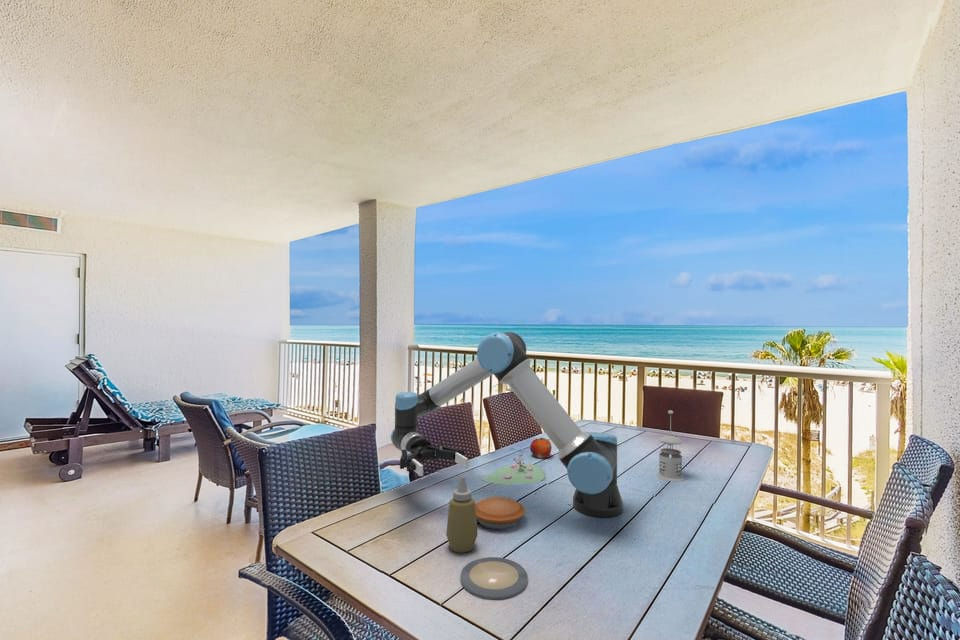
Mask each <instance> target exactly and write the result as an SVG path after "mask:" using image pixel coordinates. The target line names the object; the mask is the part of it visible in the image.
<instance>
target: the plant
mask: <svg viewBox="0 0 960 640" xmlns="http://www.w3.org/2000/svg"><path fill="white" fill-rule="evenodd" d="M523 455H524V453H522V450H519V455H518V458H515V457H514V459H512V460H513V461H515V463H512V464H511V465H506V466H502V467H500V468H497V469H496V470H495V471H492V472H491V473H490V474H488V475H487V476H486V477H484V478H483V479H482V481H483V482H485V483H489V484H493V485H494V484H495V485H500V486H510V485H511V486H512V485H524V484H535V483H539V482H542V481H543V480H545V479H546V478H547V477H546V472H545V471H544V469H543V468H541V467H540V466H538V465H536V464H532V463H526V462H523V460H524V461H525V458H523V459H522V457H523Z"/></svg>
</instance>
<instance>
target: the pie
mask: <svg viewBox="0 0 960 640" xmlns="http://www.w3.org/2000/svg"><path fill="white" fill-rule="evenodd" d="M475 510H476V520H478V522H479V523H480V525H482V527H485V528H488V529H491V530H497V531H499V530H501V531H502V530H508V529H512V528H513V527H516V525H518V523H519V522H520V520H521V518H523V517H524V515H525V513H526V507H524V505H523V504H521V502H519V501H517V500H515V499H512V498H509V497H503V496H502V497H501V496H492V497H491V496H490V497H486V498H483V499H481V500H479V501H477V502H475Z"/></svg>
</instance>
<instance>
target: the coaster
mask: <svg viewBox="0 0 960 640" xmlns="http://www.w3.org/2000/svg"><path fill="white" fill-rule="evenodd" d="M527 573H528V572H527V571H526V569H525V568H524V567H523V566H522V565H521V564H519V563H518V562H516V561H514V560H512V559H510V558H509V559H507V558H504V557H493V556H491V557H490V556H489V557H488V556H487V557H482V558H477V559H475V560H472V561H470V562H469V563H467V564H466V565H465V566H463V568H462V569H461V571H460V583H461V586H462V588H463V589H464V590H465V591H466V592H468V593H469V594H471V595H472V596H476V597H477V598H481V599H484V600H485V599H486V600H497V601H498V600H504V599H505V600H506V599H510V598H513V597H515V596H517V595H519V594H521V593H522V592H523V591H524V590H525V589H526V588H527V586H528V581H529V580H528V578H529V577H528V574H527Z"/></svg>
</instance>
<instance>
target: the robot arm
mask: <svg viewBox="0 0 960 640" xmlns="http://www.w3.org/2000/svg"><path fill="white" fill-rule="evenodd" d="M491 376H494V377H495V378H496V379H497V380H498V382H499V384H502V385H503V384H504V385H508V387H509V388H510V389H511V391H512V392H513V393H514V394H515V396H516V397H517V399H519V401H520V402H521V403H522V405H523V406H524V407H525V409H526V410H527V411H528V412H529V414H530V415H531V417H532V418H533V419H534V420H535V421H536V423H537V424H538V426H540V428H541V429H542V431H543V432H544V433H545V434H546V436H547V437H548V438H549V440H550V442H552V443H553V445H554V446H555V448H556V449H557V450H558V460H559V461H560V462H561V464H562V465H563V466H564V467H565V469H566V471H567V473H566V474H567V477H568V481H569V482H570V484H571V485H572V486H573V487H574V488H575V490H574V493H573V496H572V506H573V508H574V510H575V511H577V512H579V513H582V514H583V515H587V516H590V517H596V518H612V517H617V516H619V515H621V514H622V513H623V512H624V502H623V499H622V495H621V492H620V489H619V486H618V446H619V444H618V438H617V436H616V435H614V434H612V433H611V434H610V433H605V432H595V431H582V430H581V429H580V427H579V426H578V425H577V424H576V422H575V421H574V420H573V419H572V416H570V415H569V414H568V412H567V411H566V410H565V409H564V407H563V406H562V405H561V403H559V401H558V400H557V399H556V397H555V396H554V395H553V394H552V392H551V391H550V389H548V387H547V386H546V385H545V384H544V383H543V381H542V379H540V378H539V375H537V374H536V372H535V371H534V370H533V369H532V368H531V358H530V357H529V356H528V355H527V345H526V341H525V340H524V339H523V338H522V337H521V336H520V335H519V334H517V333H516V332H511V331H507V332H499V331H497V332H493V333H490V334H487V335H486V336H485V337H483V338H482V339H481V340H480V342H479V343H478V346H477V351H476V358H475V359H474V360H472V361H471V362H469V363H468V364H466V365H465V366H463V367H461V368H460V369H458V370H457V371H455V372H454V373H451V374H450V375H449V376H447V377H445V378H444V379H443V380H441V381H439V382H438V383H436V384H435V385H433V386H432V387H430V388H429V389H426V390H425V391H423V392H422V393H420V394H418V393H417V392H413V391H404V392H398V393H397V394H396V395H395V403H394V428H393V430H392V432H391V434H390V440H391V443H392V444H393V446H395V448H396V449H397V450H399V451H401V455H400V458H399V469H401V470H403V469H405V468H406V472H411V471H414V473H416V474H417V475H418V476H419V477H423V476H424V464H422V462H425V461H426V460H440V459H443V460H449V461H454V462H455V463H456V464H457V465H459V466H460V467H462V468H464V469H468V467H469V458H468V457H466V456H465V453H466V452H465V451H466V450H463V449H460V448H455V447H450V446H447V445H443V444H440V445H439V447H437V446H433V444H432V443H431V441H429V440H428V439H427V438H425V436H423V435H421V434H420V433H418V421H419V420H418V418H420V417H423V416H425V415H428V414H432V413H434V412H436V411H437V410H438V409H439V408H440V407H442V406H443V405H445V404H447V403H448V402H450V401H451V400H453V399H455V398H456V397H458V396H460V395H462V394H463V393H465V392H467V391H468V390H470V389H472V388H473V387H474V386H476V385H478V384H480V383H481V382H483V381H484V380H487V379H488V378H490V377H491Z"/></svg>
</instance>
